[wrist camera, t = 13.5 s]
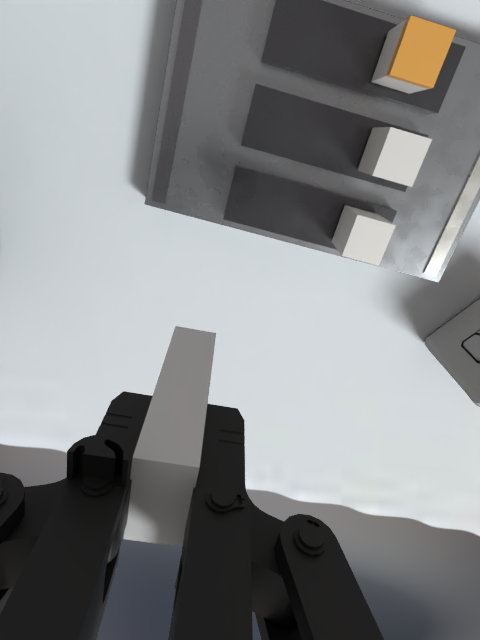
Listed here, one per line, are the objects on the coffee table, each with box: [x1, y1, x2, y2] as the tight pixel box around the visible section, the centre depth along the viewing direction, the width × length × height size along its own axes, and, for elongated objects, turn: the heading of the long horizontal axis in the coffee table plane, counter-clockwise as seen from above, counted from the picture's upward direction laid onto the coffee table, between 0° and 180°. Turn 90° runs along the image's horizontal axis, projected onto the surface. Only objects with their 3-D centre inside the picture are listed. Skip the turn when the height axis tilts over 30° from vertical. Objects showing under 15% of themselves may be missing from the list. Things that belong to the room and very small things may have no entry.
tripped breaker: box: [371, 15, 456, 94], centre depth 27 cm, size 3×3×4 cm
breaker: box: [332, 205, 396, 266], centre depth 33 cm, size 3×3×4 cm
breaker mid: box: [358, 127, 432, 187], centre depth 30 cm, size 3×3×4 cm
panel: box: [145, 0, 480, 282], centre depth 34 cm, size 28×18×4 cm, turn 75°
